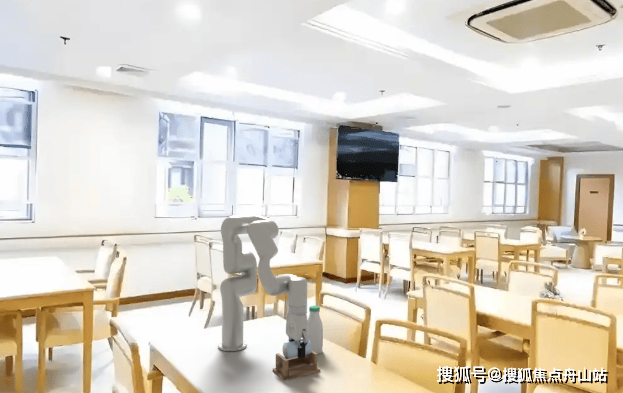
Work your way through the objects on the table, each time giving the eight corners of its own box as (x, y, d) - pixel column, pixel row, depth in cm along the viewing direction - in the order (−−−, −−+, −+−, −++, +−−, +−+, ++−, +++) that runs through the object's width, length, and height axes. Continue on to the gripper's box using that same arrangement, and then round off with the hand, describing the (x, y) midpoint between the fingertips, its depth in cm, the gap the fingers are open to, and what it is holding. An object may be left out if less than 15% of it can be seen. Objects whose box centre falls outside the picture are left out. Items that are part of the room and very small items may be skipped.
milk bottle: (320, 355, 188) (321, 309, 188) (303, 353, 190) (304, 308, 189) (323, 349, 196) (324, 305, 195) (307, 347, 197) (307, 303, 197)
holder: (272, 370, 172) (272, 353, 172) (307, 362, 180) (307, 346, 180) (284, 380, 163) (284, 362, 163) (320, 371, 172) (320, 354, 172)
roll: (289, 361, 166) (289, 346, 166) (281, 356, 171) (282, 341, 171) (312, 356, 172) (312, 341, 172) (304, 351, 177) (304, 336, 177)
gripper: (278, 305, 177) (278, 349, 177) (300, 316, 162) (300, 364, 162) (294, 302, 181) (294, 345, 181) (317, 313, 166) (316, 359, 166)
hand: (297, 354), depth 172 cm, fingers closed on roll, 6 cm apart
